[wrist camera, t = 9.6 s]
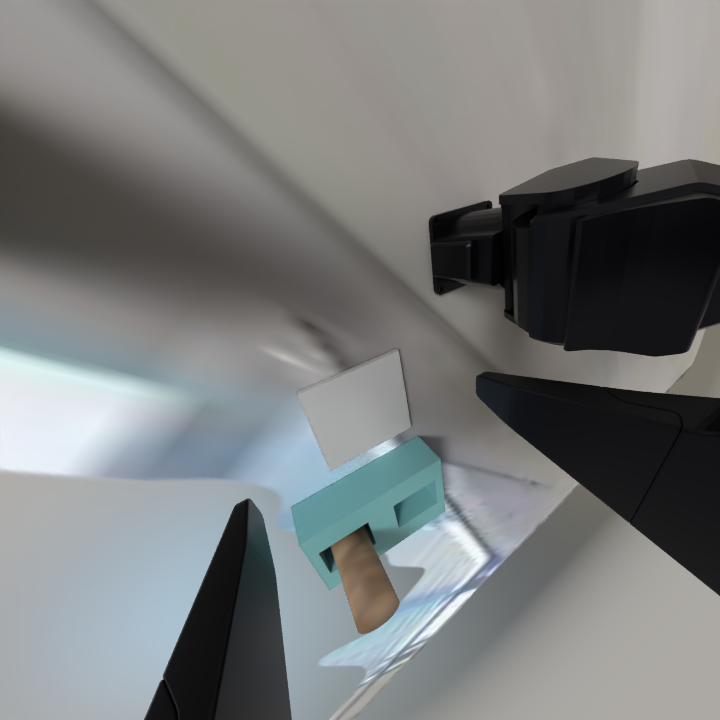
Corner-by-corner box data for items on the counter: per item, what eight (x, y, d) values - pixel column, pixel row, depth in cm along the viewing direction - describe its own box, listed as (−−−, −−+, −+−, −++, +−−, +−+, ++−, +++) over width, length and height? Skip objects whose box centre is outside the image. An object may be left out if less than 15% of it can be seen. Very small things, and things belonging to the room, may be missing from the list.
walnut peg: (349, 493, 29) (396, 591, 21) (357, 512, 31) (402, 609, 23) (317, 512, 28) (352, 623, 20) (327, 531, 30) (363, 639, 22)
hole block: (418, 435, 31) (440, 458, 27) (425, 486, 35) (445, 511, 32) (290, 507, 26) (299, 545, 23) (319, 553, 31) (329, 590, 28)
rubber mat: (395, 348, 24) (398, 350, 24) (408, 424, 29) (411, 427, 29) (296, 392, 21) (297, 395, 21) (328, 467, 26) (330, 471, 26)
